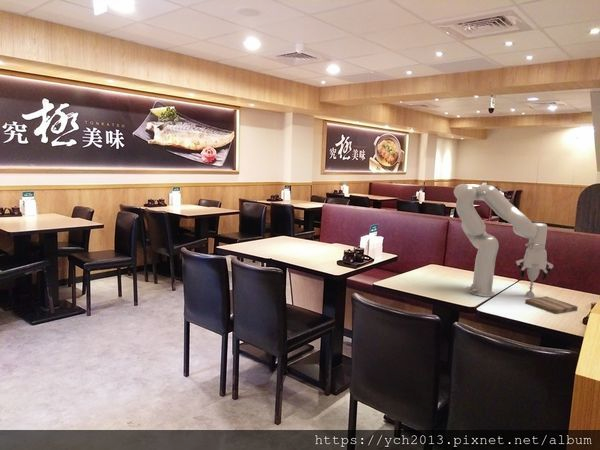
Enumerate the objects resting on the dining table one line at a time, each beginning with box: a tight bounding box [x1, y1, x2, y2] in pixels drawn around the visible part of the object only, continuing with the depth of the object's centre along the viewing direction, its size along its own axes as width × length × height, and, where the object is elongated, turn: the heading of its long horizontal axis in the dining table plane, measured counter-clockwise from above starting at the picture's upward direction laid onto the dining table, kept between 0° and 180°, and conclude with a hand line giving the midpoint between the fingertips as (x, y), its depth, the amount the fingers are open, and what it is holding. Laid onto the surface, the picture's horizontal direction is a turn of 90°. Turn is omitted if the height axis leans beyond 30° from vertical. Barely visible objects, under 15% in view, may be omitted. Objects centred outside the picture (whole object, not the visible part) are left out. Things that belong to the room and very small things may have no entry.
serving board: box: [524, 295, 579, 315], centre depth 209 cm, size 16×16×2 cm
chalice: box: [524, 264, 541, 299], centre depth 224 cm, size 7×7×18 cm
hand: (532, 278), depth 224 cm, fingers open, 9 cm apart
